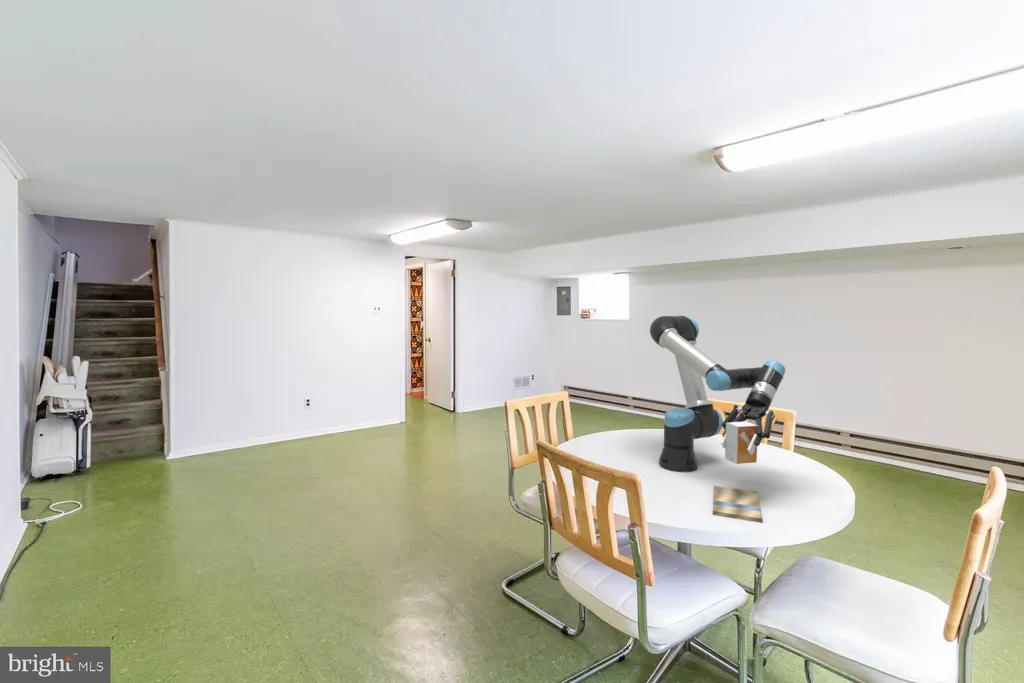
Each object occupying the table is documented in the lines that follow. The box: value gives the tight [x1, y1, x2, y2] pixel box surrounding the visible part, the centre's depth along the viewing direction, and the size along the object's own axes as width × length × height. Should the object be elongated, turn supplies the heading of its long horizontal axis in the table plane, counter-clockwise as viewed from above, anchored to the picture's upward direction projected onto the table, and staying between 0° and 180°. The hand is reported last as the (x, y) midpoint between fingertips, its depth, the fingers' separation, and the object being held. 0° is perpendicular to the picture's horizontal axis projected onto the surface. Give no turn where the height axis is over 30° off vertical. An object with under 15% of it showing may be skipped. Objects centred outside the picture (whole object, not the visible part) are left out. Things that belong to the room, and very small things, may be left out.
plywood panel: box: [712, 485, 764, 523], centre depth 159 cm, size 14×24×1 cm, turn 156°
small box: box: [724, 420, 758, 465], centre depth 164 cm, size 8×6×13 cm
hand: (736, 448), depth 162 cm, fingers closed on small box, 9 cm apart
